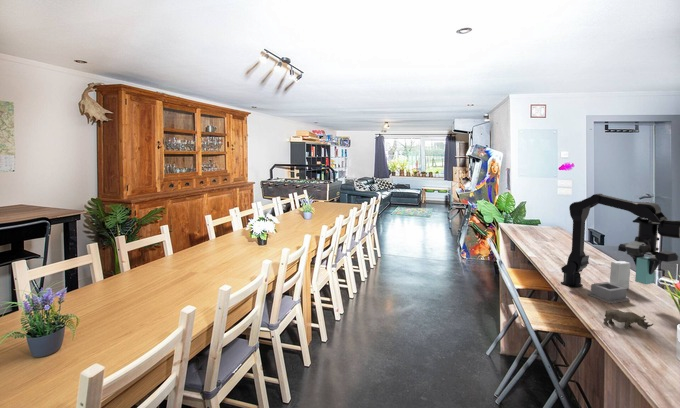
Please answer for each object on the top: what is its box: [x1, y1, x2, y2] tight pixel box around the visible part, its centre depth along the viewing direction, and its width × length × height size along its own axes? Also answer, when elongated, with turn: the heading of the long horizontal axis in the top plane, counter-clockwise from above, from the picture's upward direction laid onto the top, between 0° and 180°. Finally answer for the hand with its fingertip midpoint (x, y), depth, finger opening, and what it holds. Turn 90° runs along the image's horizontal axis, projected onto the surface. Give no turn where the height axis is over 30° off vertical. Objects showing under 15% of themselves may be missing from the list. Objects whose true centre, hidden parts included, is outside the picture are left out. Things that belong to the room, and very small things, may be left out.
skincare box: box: [609, 260, 631, 289], centre depth 163 cm, size 6×4×12 cm
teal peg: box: [634, 256, 655, 285], centre depth 144 cm, size 4×4×10 cm
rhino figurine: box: [603, 308, 654, 330], centre depth 126 cm, size 4×14×6 cm, turn 54°
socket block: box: [587, 281, 630, 304], centre depth 153 cm, size 10×10×5 cm
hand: (644, 272), depth 144 cm, fingers closed on teal peg, 4 cm apart
